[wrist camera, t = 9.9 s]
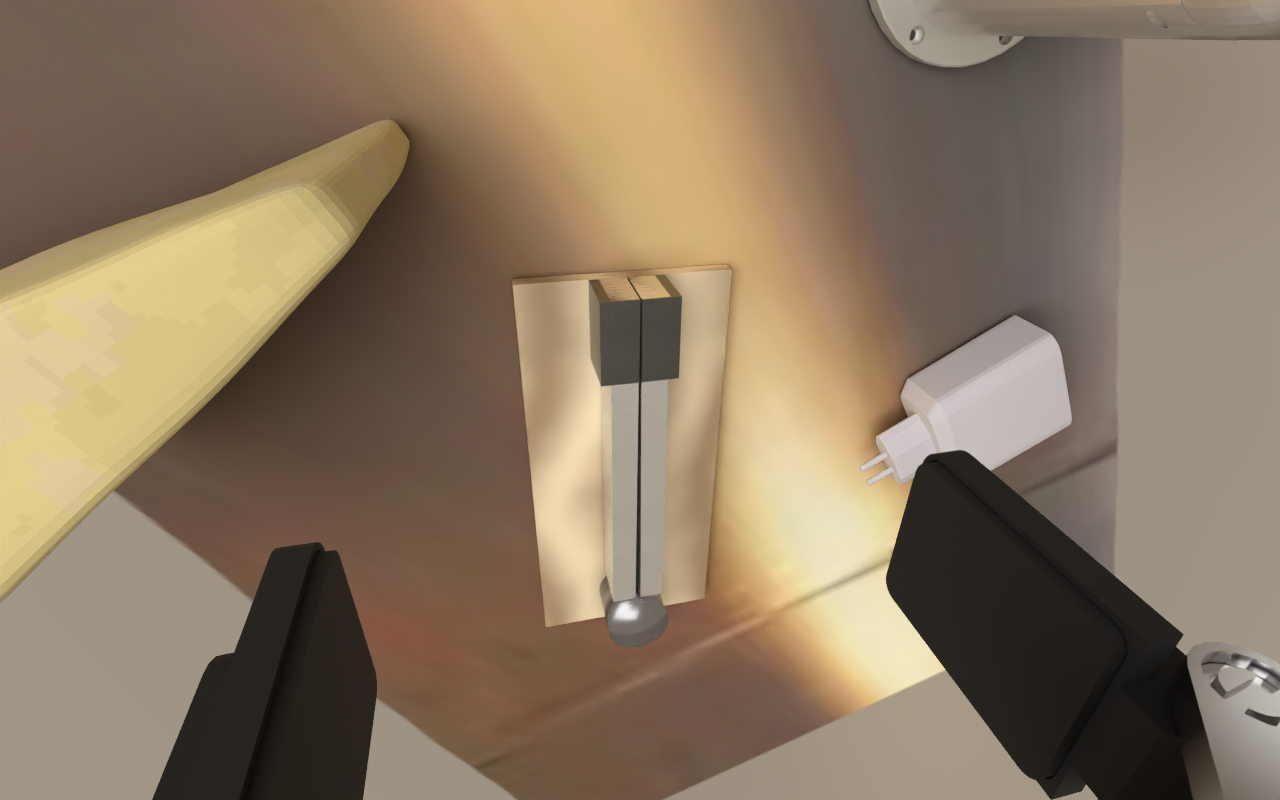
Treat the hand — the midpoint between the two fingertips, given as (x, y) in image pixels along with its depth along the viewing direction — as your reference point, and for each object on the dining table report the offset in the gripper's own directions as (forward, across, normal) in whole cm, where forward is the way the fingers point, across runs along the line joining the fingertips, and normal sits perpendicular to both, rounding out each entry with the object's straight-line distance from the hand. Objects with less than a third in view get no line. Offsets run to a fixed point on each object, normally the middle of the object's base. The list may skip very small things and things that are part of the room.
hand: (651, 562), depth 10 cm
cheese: (+29, +15, +2) cm, 32 cm away
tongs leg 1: (+27, -4, +16) cm, 32 cm away
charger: (+29, -30, +18) cm, 45 cm away
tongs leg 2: (+27, -7, +16) cm, 32 cm away
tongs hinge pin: (+27, -6, +30) cm, 41 cm away
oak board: (+28, -6, +19) cm, 35 cm away
